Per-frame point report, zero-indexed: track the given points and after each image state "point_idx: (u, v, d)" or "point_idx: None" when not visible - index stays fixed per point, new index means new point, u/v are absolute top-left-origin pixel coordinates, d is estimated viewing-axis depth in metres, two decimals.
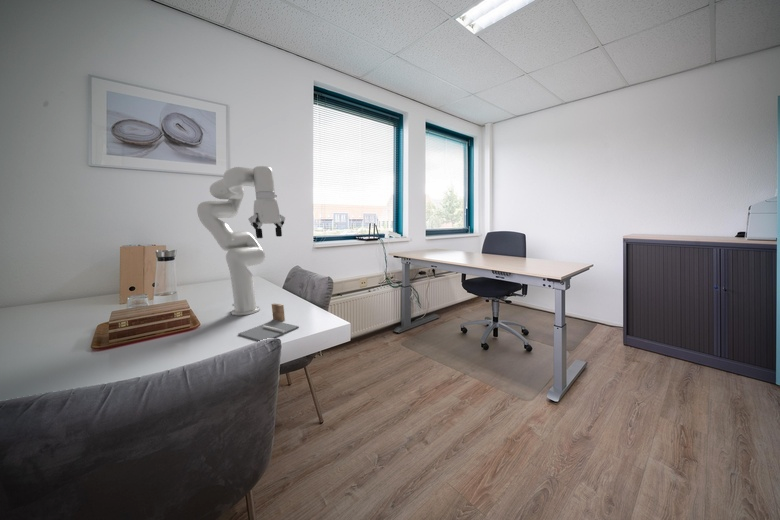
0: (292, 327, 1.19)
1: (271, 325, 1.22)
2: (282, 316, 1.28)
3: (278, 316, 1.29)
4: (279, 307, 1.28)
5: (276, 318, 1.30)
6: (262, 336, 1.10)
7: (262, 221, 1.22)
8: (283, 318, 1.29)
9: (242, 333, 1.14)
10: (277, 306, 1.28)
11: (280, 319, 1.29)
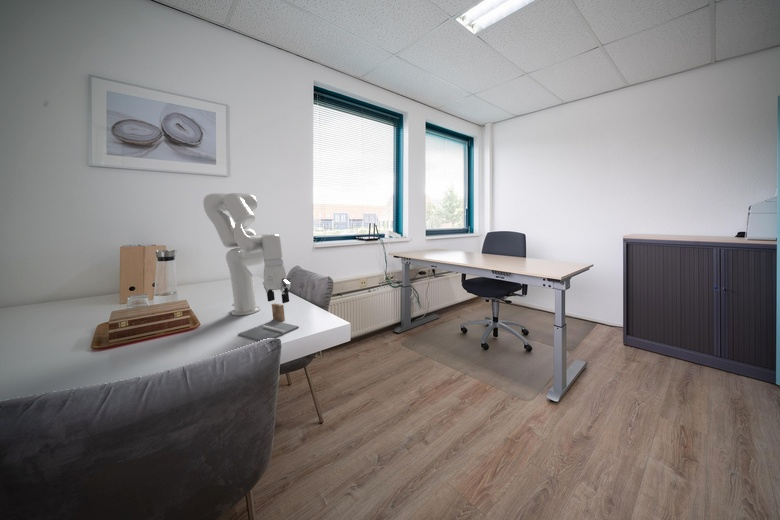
0: (292, 327, 1.19)
1: (271, 325, 1.22)
2: (282, 316, 1.28)
3: (278, 316, 1.29)
4: (279, 307, 1.28)
5: (276, 318, 1.30)
6: (262, 336, 1.10)
7: None
8: (283, 318, 1.29)
9: (242, 333, 1.14)
10: (277, 306, 1.28)
11: (280, 319, 1.29)
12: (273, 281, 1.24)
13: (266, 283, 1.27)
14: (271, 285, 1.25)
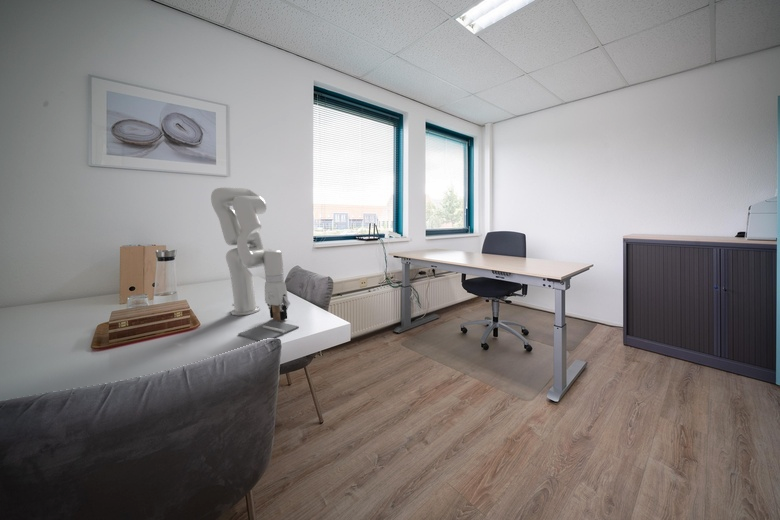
0: (292, 327, 1.19)
1: (271, 325, 1.22)
2: None
3: (278, 316, 1.29)
4: (279, 307, 1.28)
5: (276, 318, 1.30)
6: (262, 336, 1.10)
7: None
8: None
9: (242, 333, 1.14)
10: (277, 306, 1.28)
11: None
12: (274, 297, 1.25)
13: (267, 298, 1.28)
14: (272, 301, 1.26)
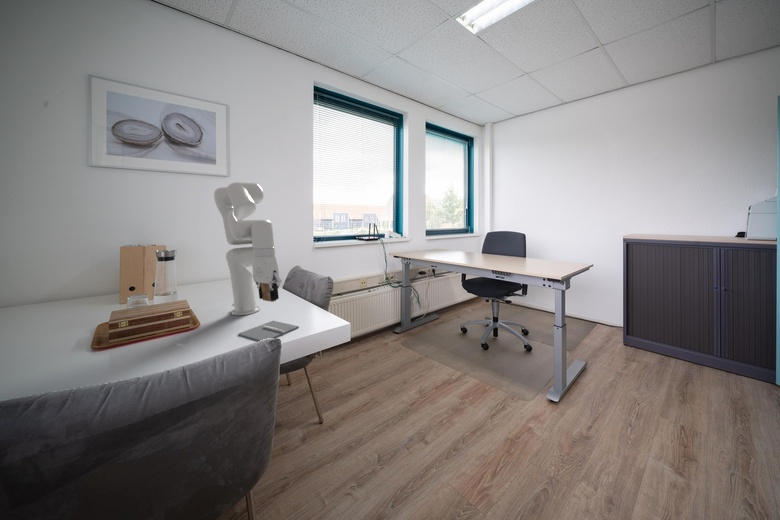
0: (292, 327, 1.19)
1: (271, 325, 1.22)
2: None
3: (268, 296, 1.13)
4: None
5: (266, 298, 1.14)
6: (262, 336, 1.10)
7: None
8: None
9: (242, 333, 1.14)
10: (267, 284, 1.12)
11: (270, 299, 1.12)
12: (263, 273, 1.09)
13: (255, 275, 1.12)
14: (260, 278, 1.10)
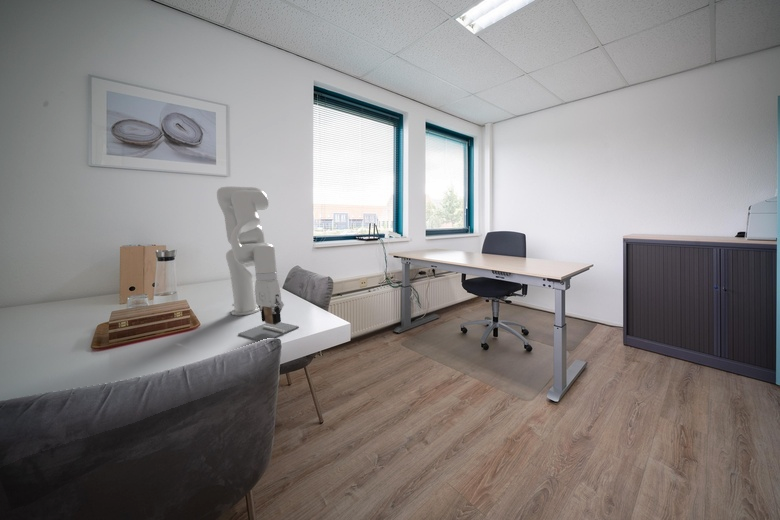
0: (292, 327, 1.19)
1: (271, 325, 1.22)
2: None
3: (270, 319, 1.14)
4: None
5: (268, 321, 1.15)
6: (262, 336, 1.10)
7: None
8: None
9: (242, 333, 1.14)
10: (269, 308, 1.13)
11: None
12: (265, 297, 1.10)
13: (258, 299, 1.13)
14: (263, 302, 1.11)
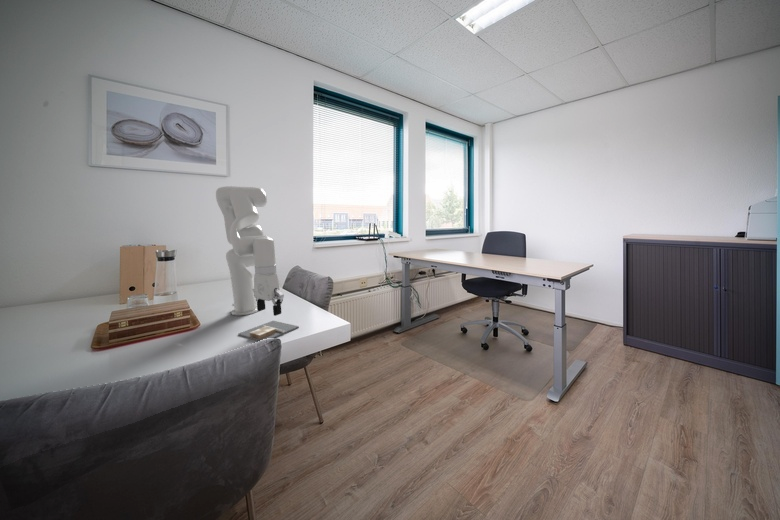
0: (292, 327, 1.19)
1: (271, 325, 1.22)
2: (271, 333, 1.12)
3: None
4: None
5: None
6: None
7: None
8: (273, 331, 1.13)
9: (242, 333, 1.14)
10: None
11: None
12: (264, 291, 1.11)
13: (256, 292, 1.13)
14: (262, 295, 1.12)
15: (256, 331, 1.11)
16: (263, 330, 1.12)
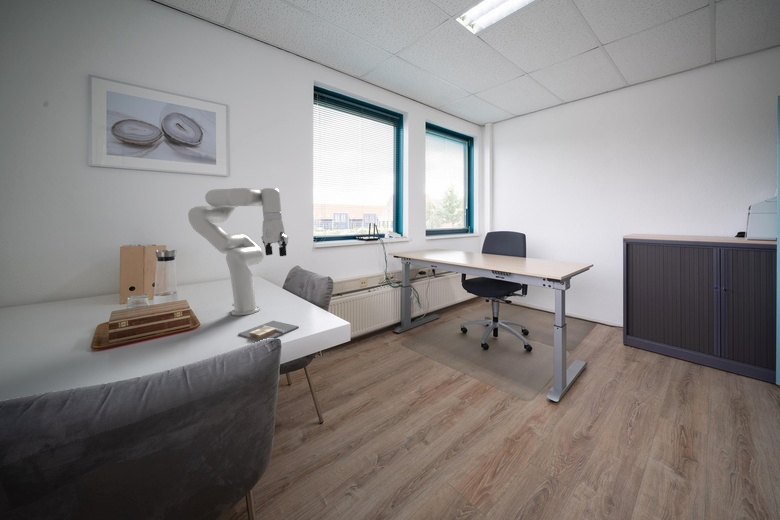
0: (292, 327, 1.19)
1: (271, 325, 1.22)
2: (271, 333, 1.12)
3: None
4: None
5: None
6: None
7: None
8: (273, 331, 1.13)
9: (242, 333, 1.14)
10: None
11: None
12: (271, 234, 1.28)
13: (264, 236, 1.30)
14: (269, 238, 1.29)
15: (256, 331, 1.11)
16: (263, 330, 1.12)
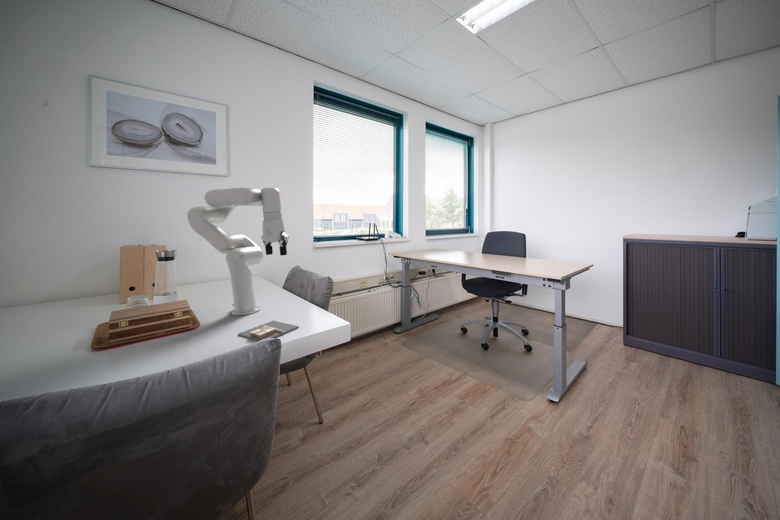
0: (292, 327, 1.19)
1: (271, 325, 1.22)
2: (271, 333, 1.12)
3: None
4: None
5: None
6: None
7: None
8: (273, 331, 1.13)
9: (242, 333, 1.14)
10: None
11: None
12: (272, 233, 1.28)
13: (265, 236, 1.31)
14: (270, 237, 1.29)
15: (256, 331, 1.11)
16: (263, 330, 1.12)
